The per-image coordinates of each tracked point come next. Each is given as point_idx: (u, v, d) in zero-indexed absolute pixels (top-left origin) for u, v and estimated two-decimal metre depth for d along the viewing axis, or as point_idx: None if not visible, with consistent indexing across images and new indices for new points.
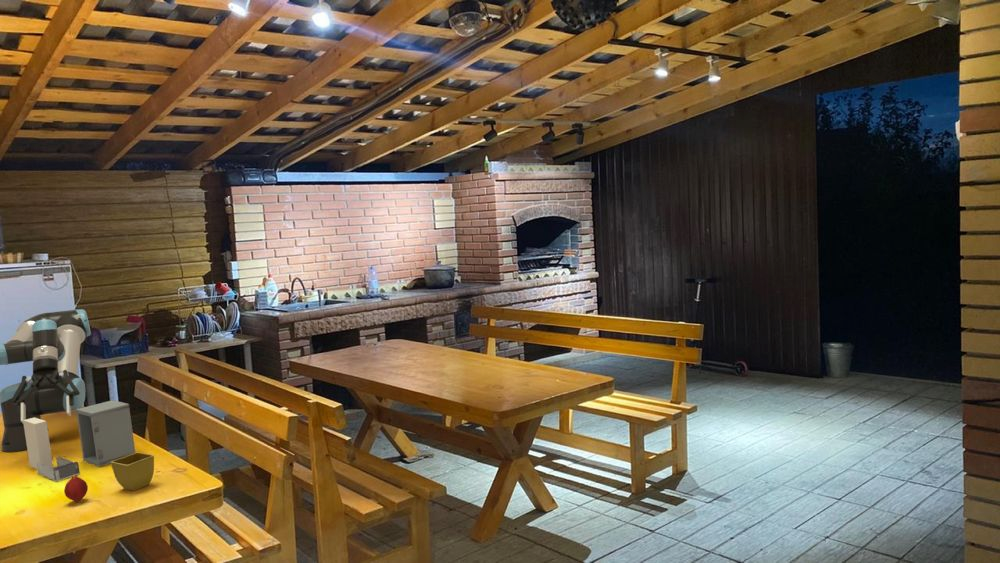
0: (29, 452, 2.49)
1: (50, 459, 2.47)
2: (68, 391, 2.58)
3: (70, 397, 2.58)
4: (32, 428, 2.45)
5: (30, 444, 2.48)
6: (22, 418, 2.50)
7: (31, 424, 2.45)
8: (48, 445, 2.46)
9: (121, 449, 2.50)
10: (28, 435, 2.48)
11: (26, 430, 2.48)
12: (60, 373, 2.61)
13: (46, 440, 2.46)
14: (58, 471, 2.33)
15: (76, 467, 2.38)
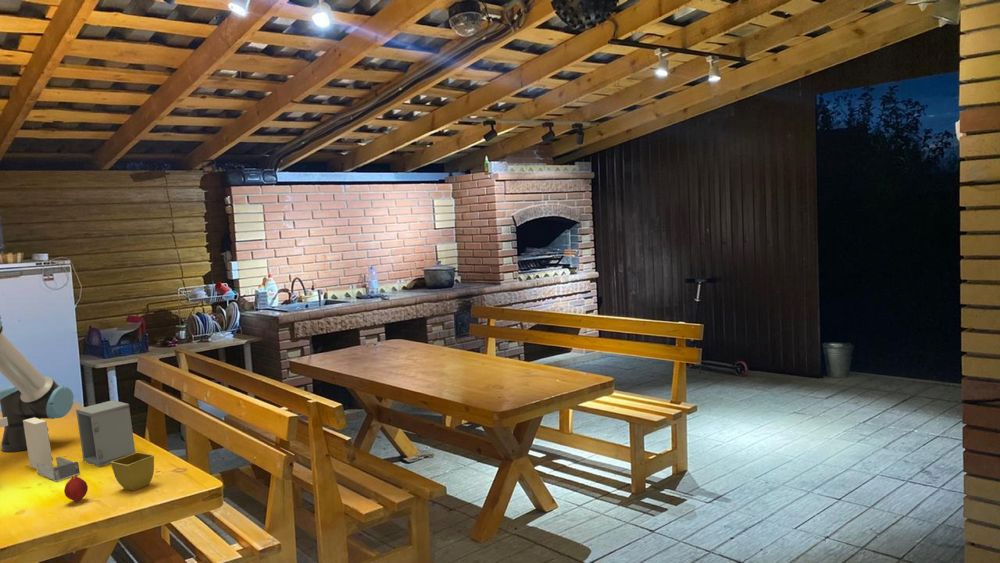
0: (29, 452, 2.49)
1: (50, 459, 2.47)
2: None
3: None
4: (32, 428, 2.44)
5: (30, 444, 2.48)
6: None
7: (31, 424, 2.45)
8: (48, 445, 2.46)
9: (121, 449, 2.50)
10: (28, 435, 2.48)
11: (26, 430, 2.48)
12: None
13: (46, 440, 2.46)
14: (58, 471, 2.33)
15: (76, 467, 2.38)
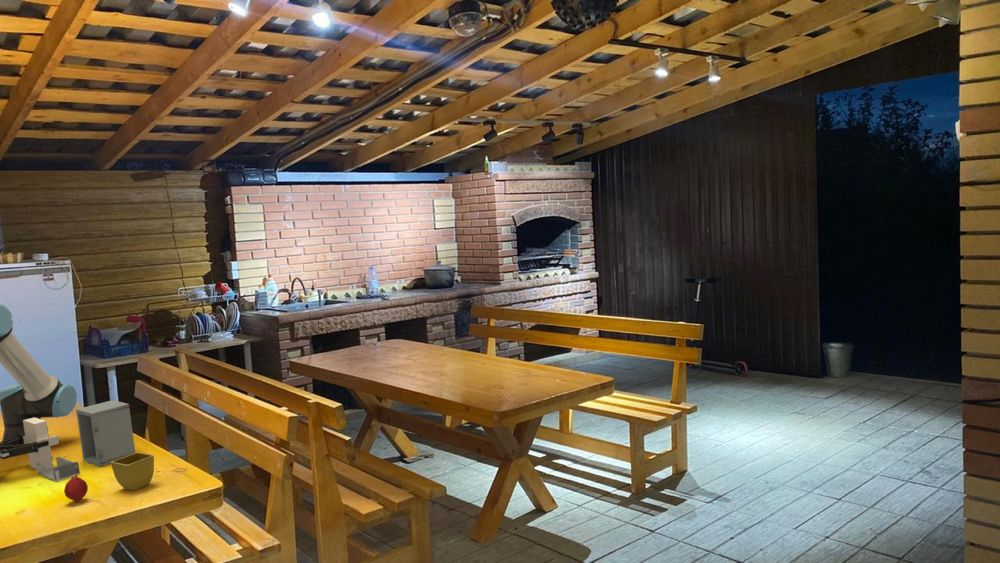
0: None
1: (50, 459, 2.47)
2: None
3: None
4: (32, 428, 2.44)
5: None
6: None
7: (31, 424, 2.45)
8: None
9: (121, 449, 2.50)
10: (28, 435, 2.48)
11: (26, 430, 2.48)
12: None
13: None
14: (58, 471, 2.33)
15: (76, 467, 2.38)
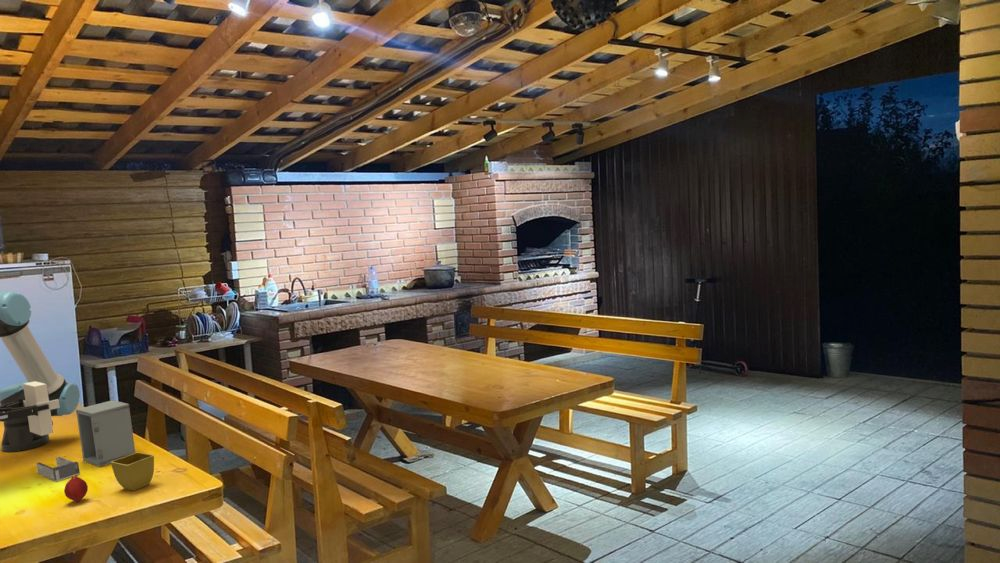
0: (29, 417, 2.42)
1: (50, 423, 2.39)
2: None
3: (39, 410, 2.36)
4: (32, 391, 2.37)
5: None
6: None
7: (31, 387, 2.37)
8: None
9: (121, 449, 2.50)
10: (28, 399, 2.41)
11: (26, 394, 2.41)
12: None
13: None
14: (58, 471, 2.33)
15: (76, 467, 2.38)
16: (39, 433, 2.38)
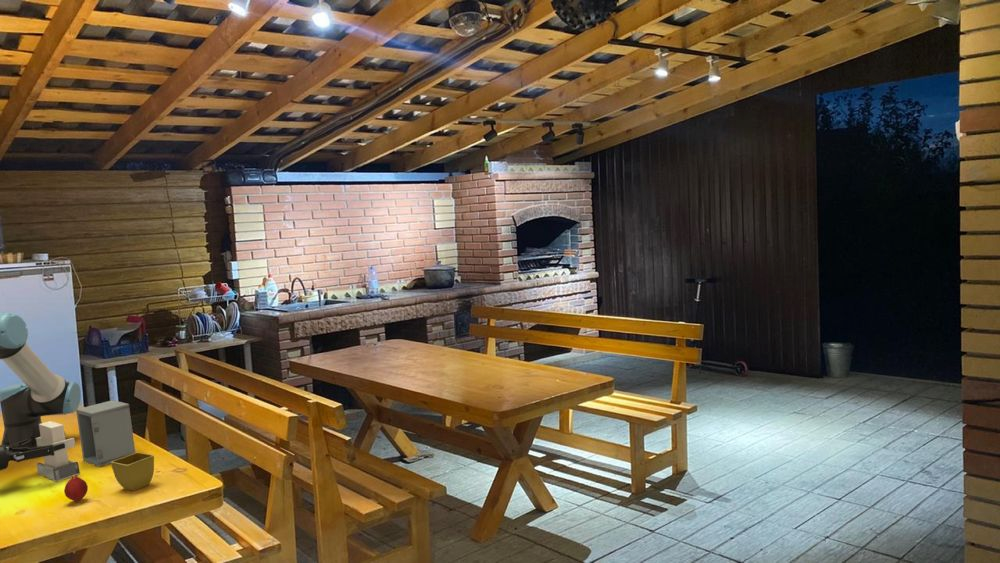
0: (45, 457, 2.41)
1: None
2: None
3: None
4: (49, 432, 2.36)
5: None
6: None
7: (47, 428, 2.36)
8: (65, 450, 2.37)
9: (121, 449, 2.50)
10: (44, 439, 2.39)
11: (42, 434, 2.40)
12: None
13: None
14: (58, 471, 2.33)
15: (76, 467, 2.38)
16: None
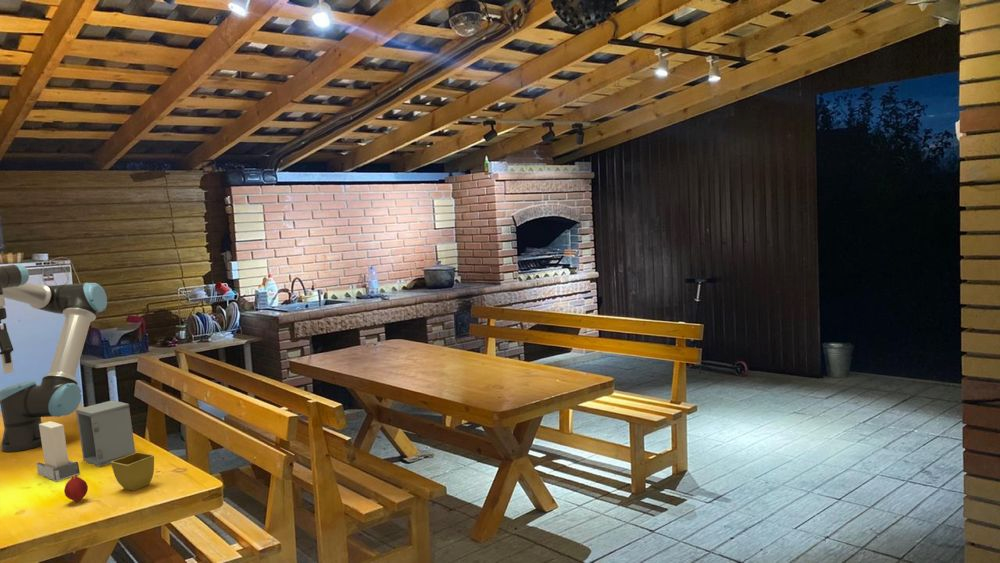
0: (45, 457, 2.41)
1: None
2: (1, 349, 2.44)
3: (4, 355, 2.44)
4: (49, 432, 2.36)
5: (47, 449, 2.39)
6: None
7: (47, 428, 2.36)
8: (65, 450, 2.37)
9: (121, 449, 2.50)
10: (44, 439, 2.39)
11: (42, 434, 2.40)
12: None
13: (63, 445, 2.37)
14: (58, 471, 2.33)
15: (76, 467, 2.38)
16: None
